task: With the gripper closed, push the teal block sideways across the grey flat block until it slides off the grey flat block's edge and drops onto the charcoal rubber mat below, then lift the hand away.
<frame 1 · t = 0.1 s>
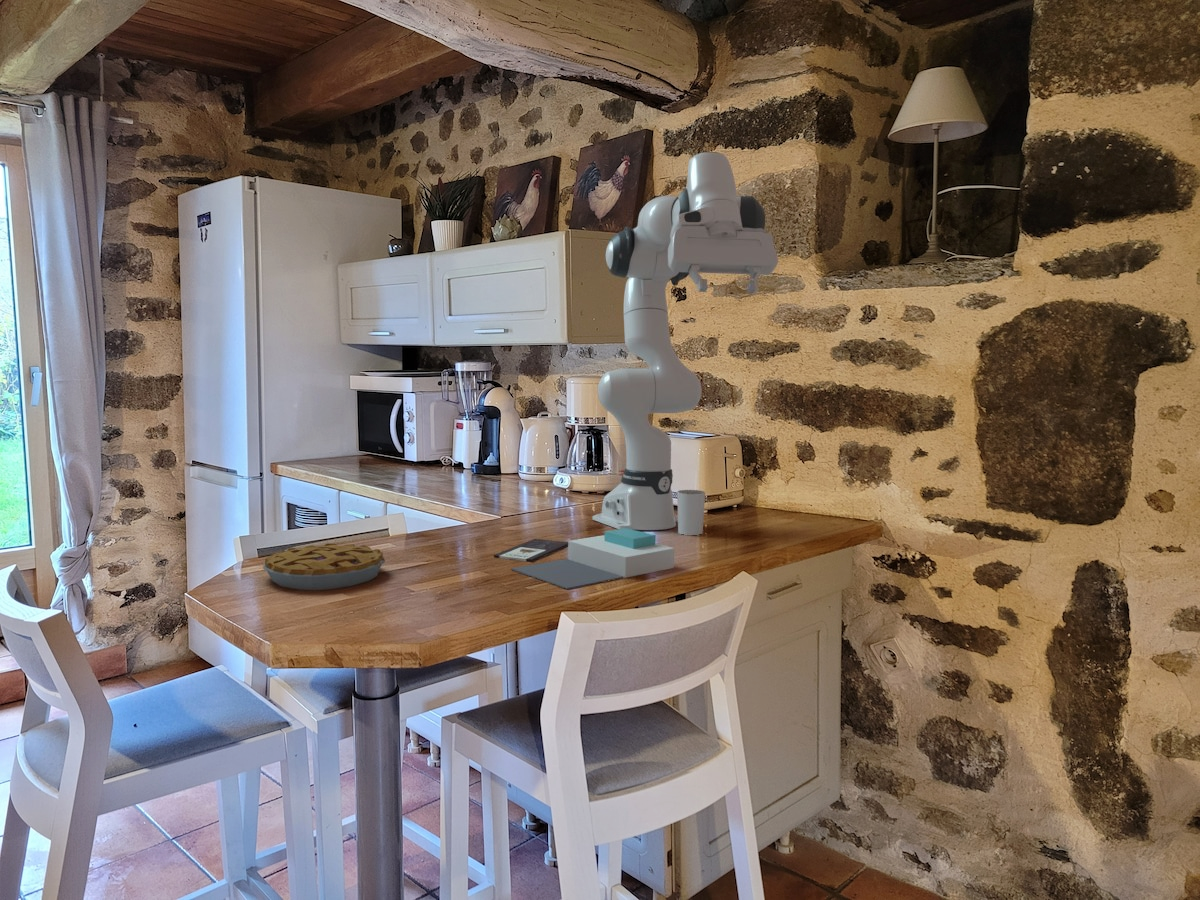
hand: (727, 290, 159), 54 cm above the worktop, tool tilted 30°, fingers open, 8 cm apart
pie: (325, 578, 167), on the worktop
teal block: (629, 542, 181), point 4 cm above the worktop, touching grey flat block
grey flat block: (620, 563, 179), on the worktop
mat: (566, 573, 171), on the worktop
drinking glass: (690, 534, 211), on the worktop
chocolate bar: (533, 553, 190), on the worktop
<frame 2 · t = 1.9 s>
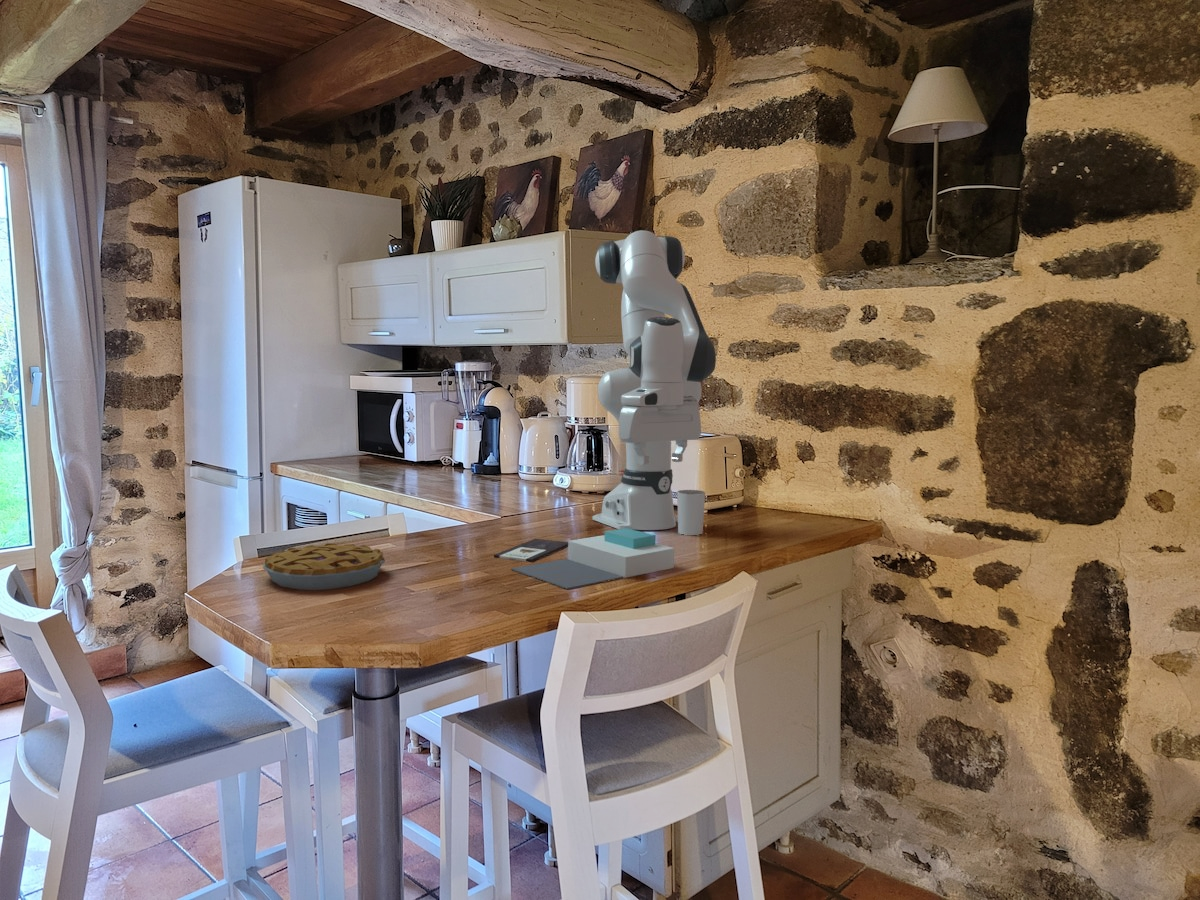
hand: (660, 463, 183), 20 cm above the worktop, tool pointing down, fingers open, 8 cm apart
nothing on the worktop moved.
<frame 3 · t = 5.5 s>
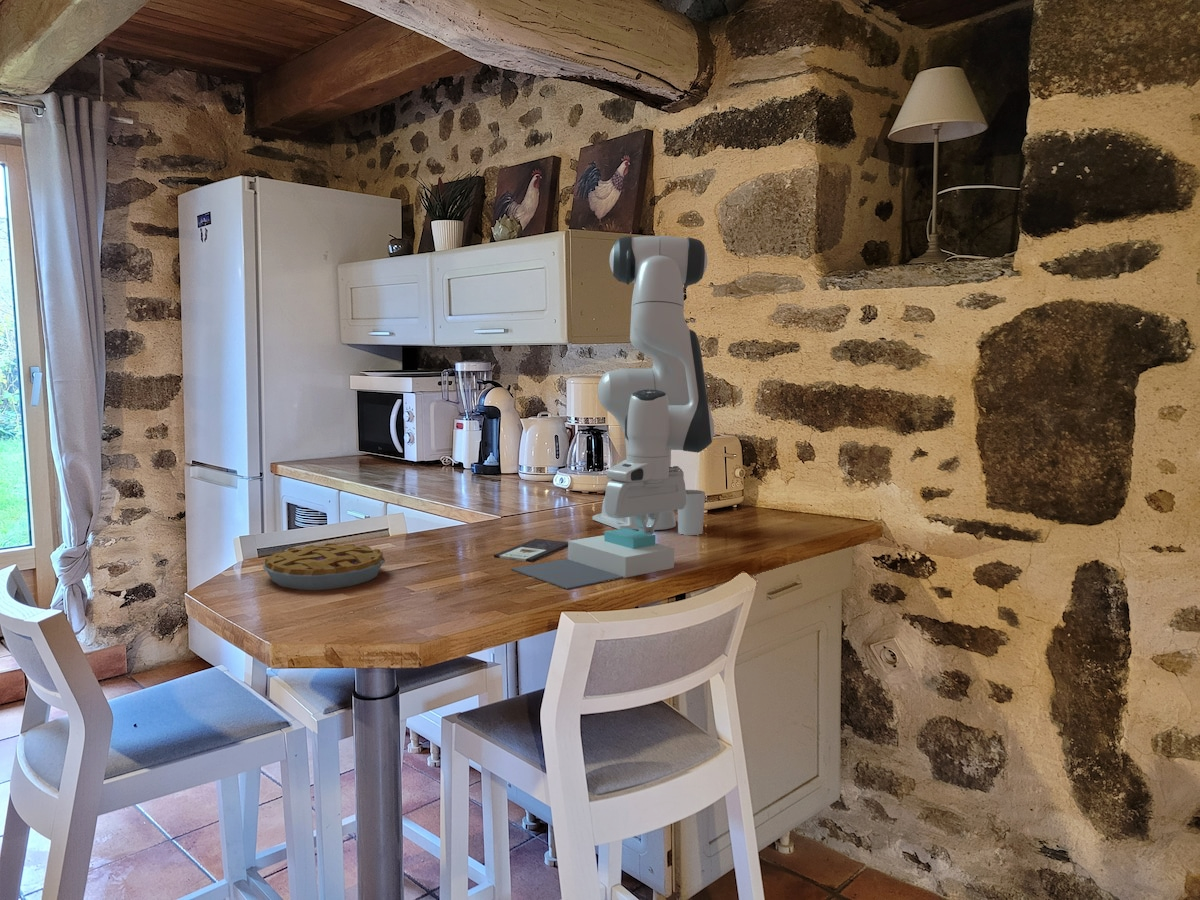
hand: (646, 534, 183), 5 cm above the worktop, tool pointing down, fingers closed
teal block: (629, 542, 181), point 4 cm above the worktop, touching grey flat block, gripper
everything else where it was.
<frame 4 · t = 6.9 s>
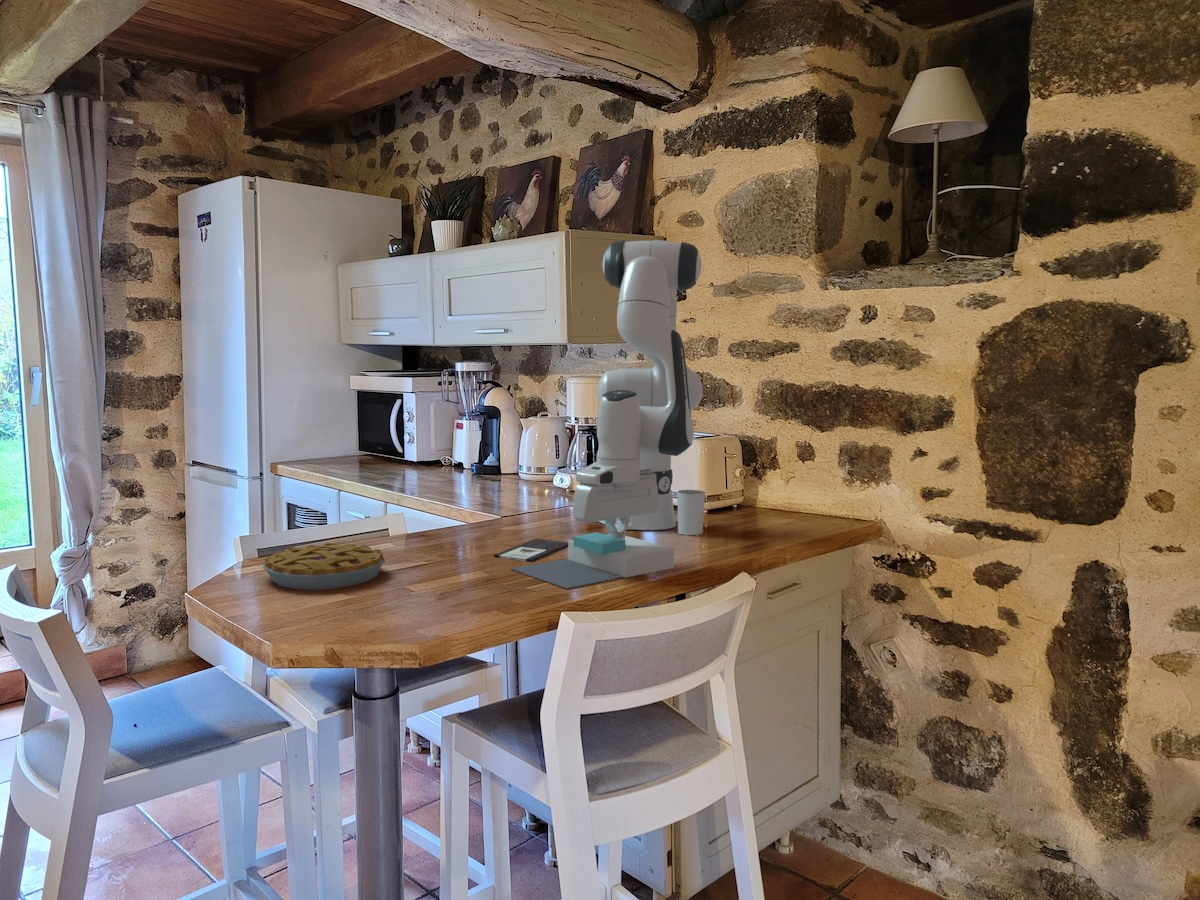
hand: (617, 539, 178), 5 cm above the worktop, tool pointing down, fingers closed
teal block: (599, 547, 176), point 4 cm above the worktop, touching gripper
everything else where it was.
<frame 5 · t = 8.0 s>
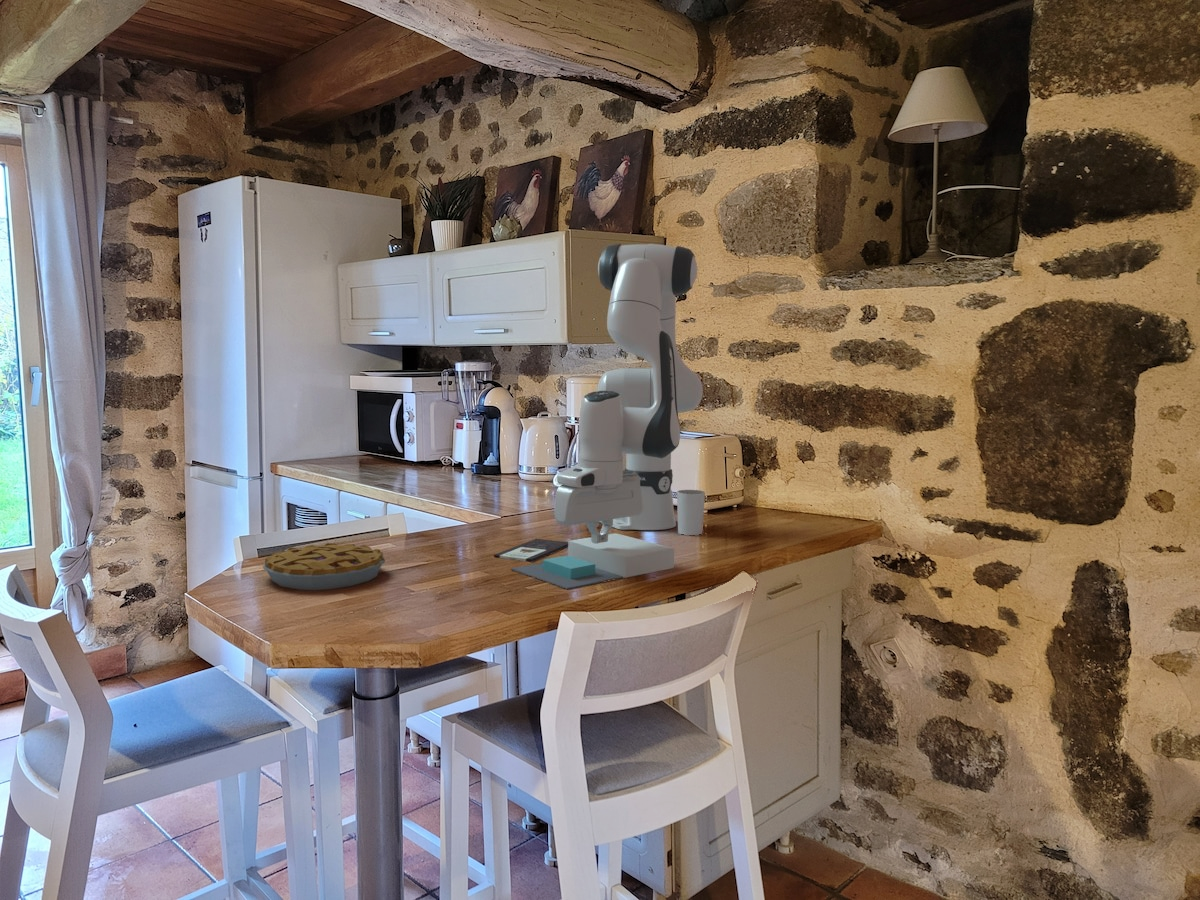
hand: (599, 542, 175), 5 cm above the worktop, tool pointing down, fingers closed
teal block: (568, 561, 171), point 2 cm above the worktop, tilted 180°, touching mat
everything else where it was.
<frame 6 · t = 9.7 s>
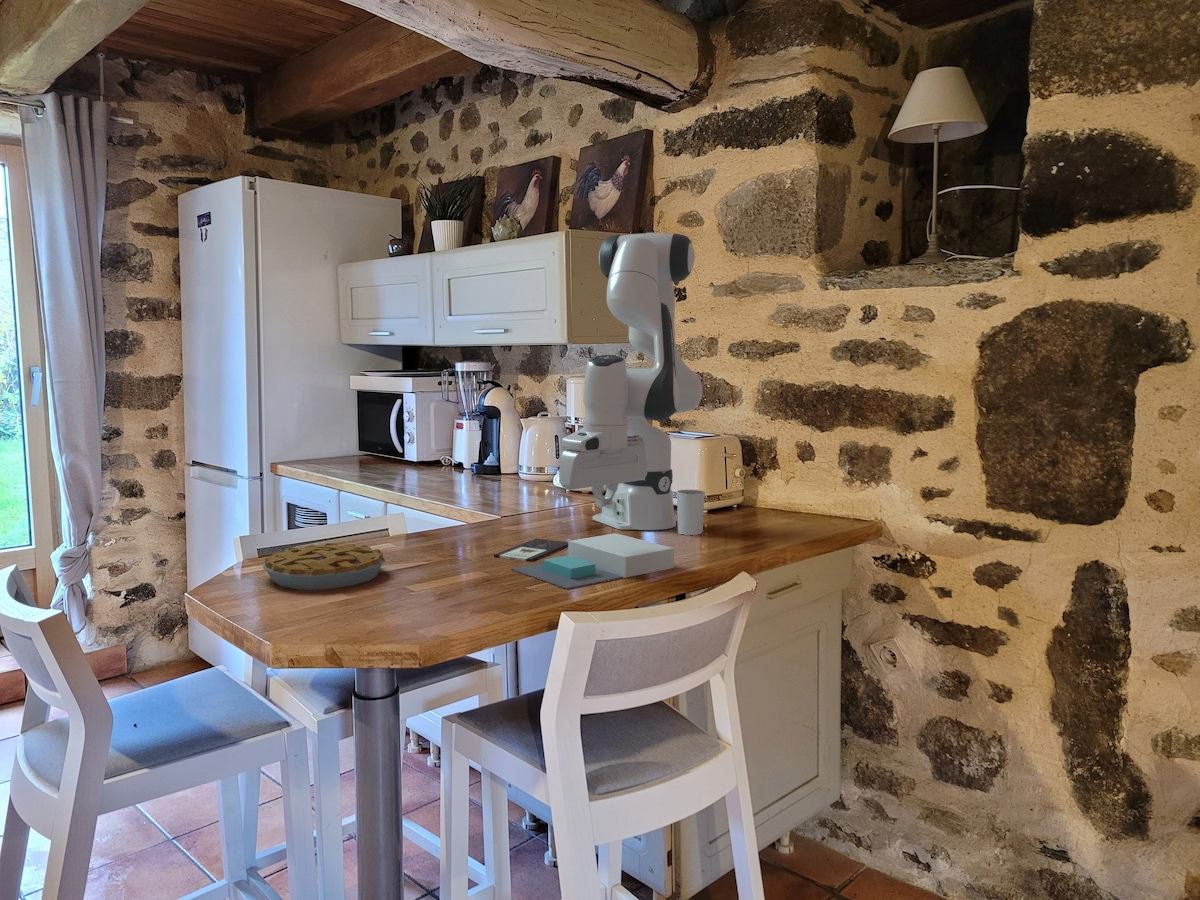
hand: (604, 506, 176), 12 cm above the worktop, tool pointing down, fingers closed
nothing on the worktop moved.
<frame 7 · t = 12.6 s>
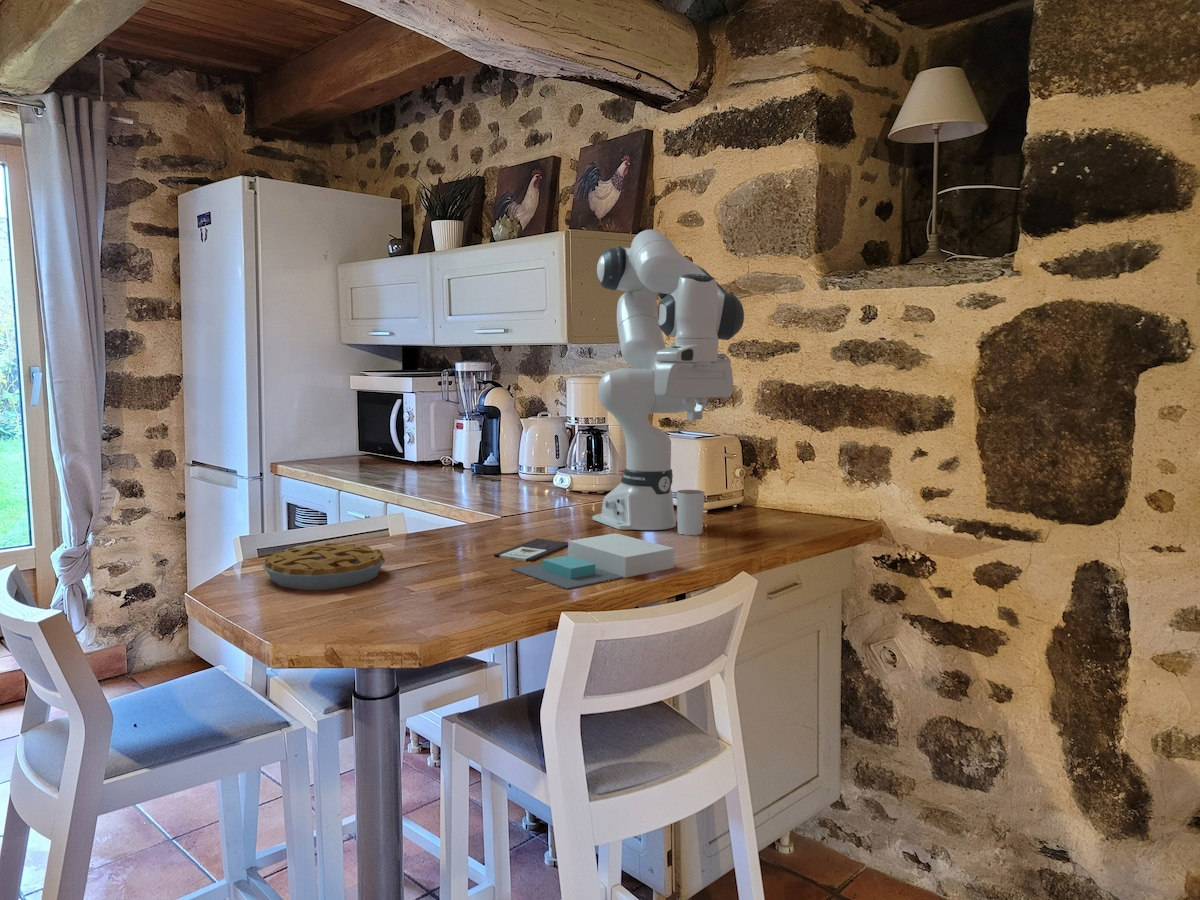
hand: (694, 419, 184), 29 cm above the worktop, tool pointing down, fingers closed
nothing on the worktop moved.
at the end: teal block point 2.3 cm above the worktop; teal block inside the target area on the mat (0.6 cm from its centre), point 2.3 cm above the mat's base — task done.
